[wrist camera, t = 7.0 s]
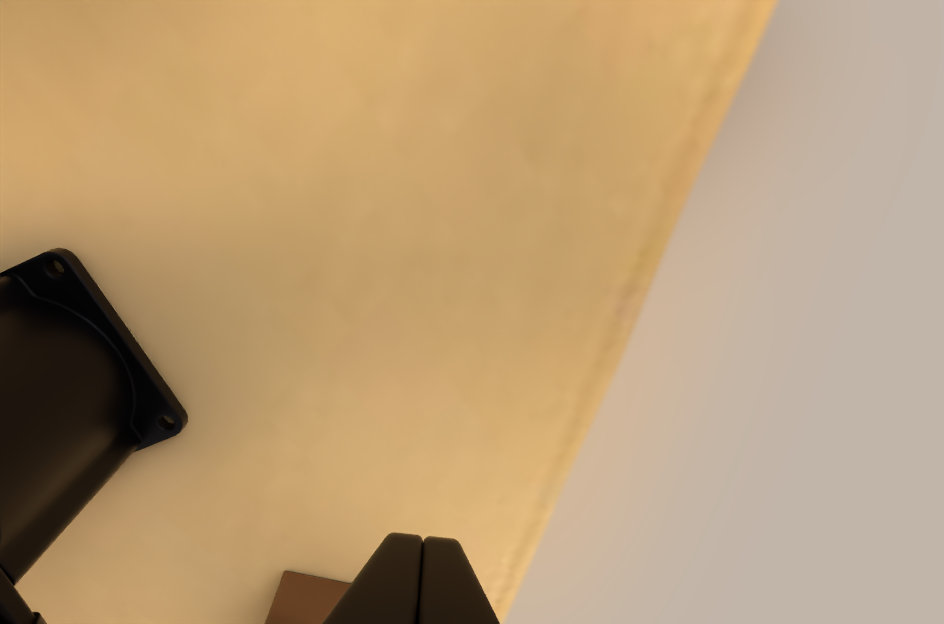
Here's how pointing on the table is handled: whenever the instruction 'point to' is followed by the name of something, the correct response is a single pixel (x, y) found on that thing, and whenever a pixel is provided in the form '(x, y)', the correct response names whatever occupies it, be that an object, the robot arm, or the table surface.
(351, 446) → the table surface
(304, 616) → the block
